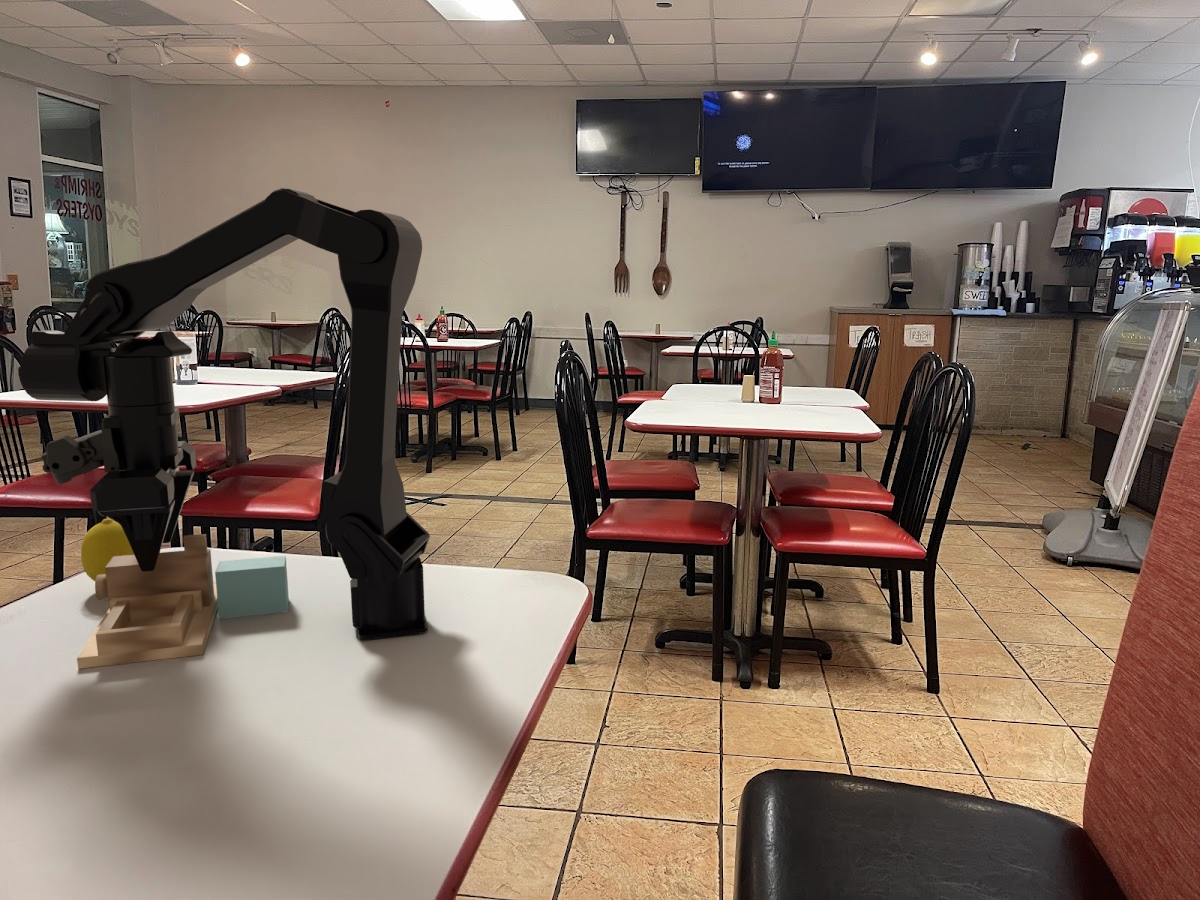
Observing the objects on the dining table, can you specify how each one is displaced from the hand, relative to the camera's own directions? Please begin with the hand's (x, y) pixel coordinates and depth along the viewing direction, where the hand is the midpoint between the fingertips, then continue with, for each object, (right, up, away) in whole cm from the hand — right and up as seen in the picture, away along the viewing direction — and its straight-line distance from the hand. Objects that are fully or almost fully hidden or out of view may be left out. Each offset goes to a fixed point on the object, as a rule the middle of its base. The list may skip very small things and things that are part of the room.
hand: (156, 556), depth 86 cm
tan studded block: (0, -5, +1) cm, 5 cm away
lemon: (-9, -5, +8) cm, 13 cm away
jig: (+1, -7, -2) cm, 7 cm away
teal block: (+9, -6, +3) cm, 11 cm away
